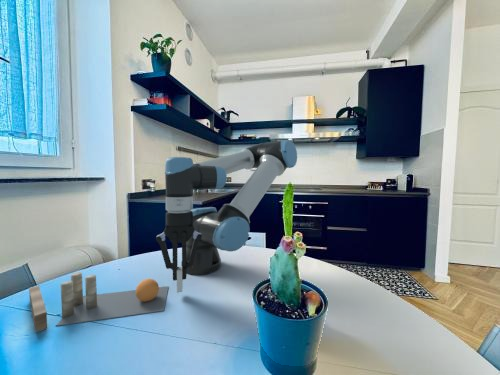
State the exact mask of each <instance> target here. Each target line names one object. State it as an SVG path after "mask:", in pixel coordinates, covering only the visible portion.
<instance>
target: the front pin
mask: <svg viewBox="0 0 500 375" xmlns="http://www.w3.org/2000/svg"><path fill="white" fill-rule="evenodd" d="M84 280H85V282H84V284H85V288H84V289H85V296H86V309H93V308H95V307H96V306H97V293H98V292H97V275H96V274H90V275H86V276H85V277H84Z"/></svg>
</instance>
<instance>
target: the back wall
mask: <svg viewBox="0 0 500 375" xmlns="http://www.w3.org/2000/svg"><path fill="white" fill-rule="evenodd" d="M28 289H29V292H28V295H29V304H30V310H31V316H32V320H33V326H34V331H35V333H38V332H41V331H44V330H47V329H48V318H47V317H48V314H47V308H46V305H45V302H44V299H43V295H42V292H41V288H40V285H34V286H32V287H28Z"/></svg>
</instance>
